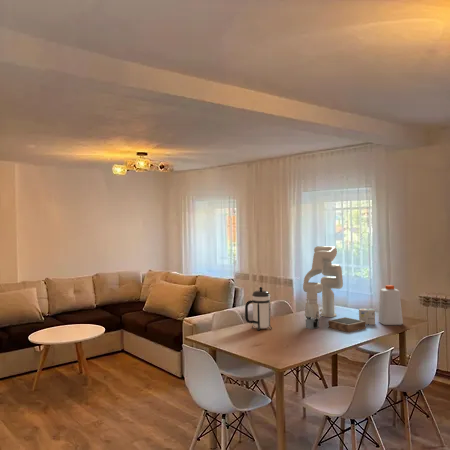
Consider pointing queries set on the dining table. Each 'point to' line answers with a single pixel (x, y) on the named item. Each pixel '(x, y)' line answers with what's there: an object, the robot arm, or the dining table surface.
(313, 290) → the robot arm
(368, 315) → the light bulb box
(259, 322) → the coffee press
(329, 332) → the dining table surface
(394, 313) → the plastic bottle
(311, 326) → the block
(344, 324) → the walnut stand
